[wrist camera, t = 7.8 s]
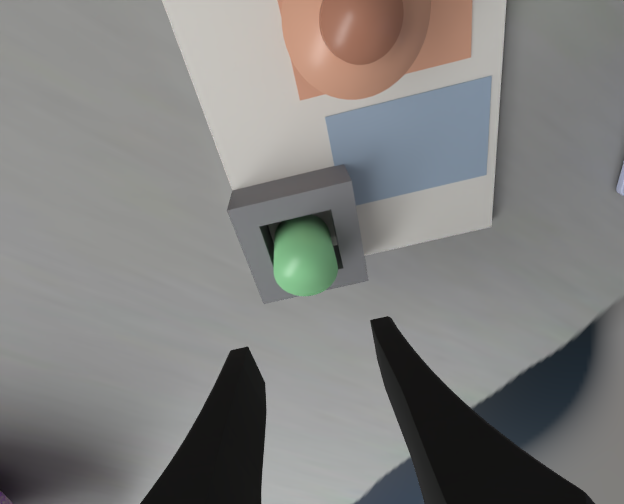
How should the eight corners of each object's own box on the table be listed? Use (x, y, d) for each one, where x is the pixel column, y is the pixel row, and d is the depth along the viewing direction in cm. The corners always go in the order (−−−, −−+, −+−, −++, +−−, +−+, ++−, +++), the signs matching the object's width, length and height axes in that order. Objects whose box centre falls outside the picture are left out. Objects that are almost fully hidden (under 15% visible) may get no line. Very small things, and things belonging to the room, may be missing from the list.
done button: (324, 207, 18) (331, 237, 16) (334, 254, 20) (342, 288, 17) (267, 220, 18) (265, 252, 16) (282, 266, 20) (283, 301, 18)
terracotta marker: (374, -49, 14) (445, -113, 8) (382, 64, 16) (443, 89, 10) (273, -26, 14) (261, -69, 8) (295, 83, 16) (299, 119, 10)
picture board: (507, -150, 13) (561, -190, 11) (486, 222, 22) (513, 248, 19) (147, -48, 14) (119, -64, 11) (265, 272, 23) (263, 303, 20)
